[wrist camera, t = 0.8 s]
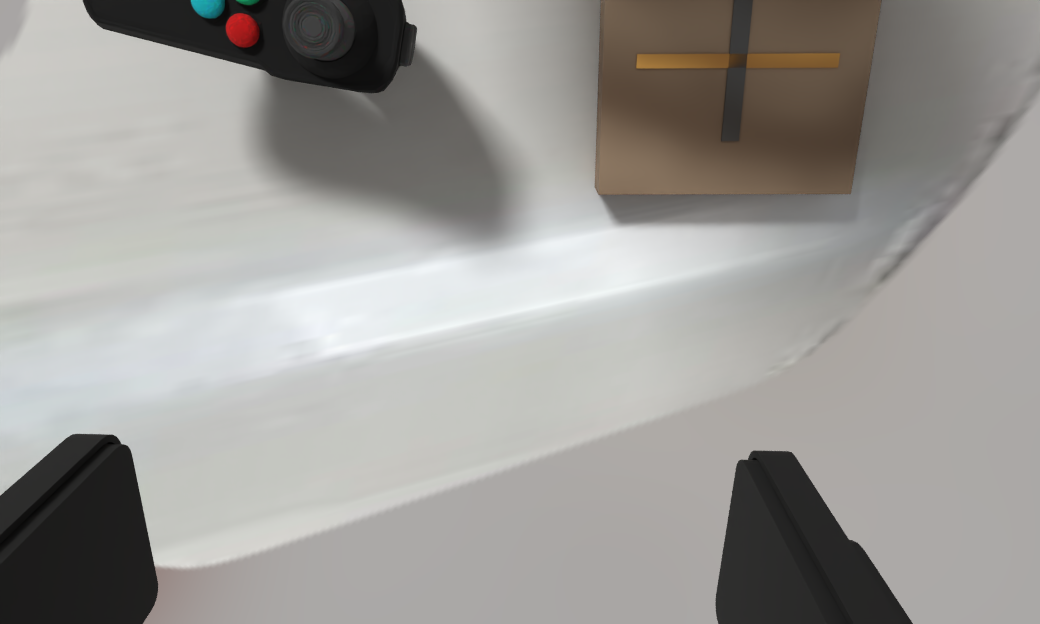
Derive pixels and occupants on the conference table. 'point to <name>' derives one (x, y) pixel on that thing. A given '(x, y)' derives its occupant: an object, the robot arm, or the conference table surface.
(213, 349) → the conference table surface
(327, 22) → the controller
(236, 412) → the conference table surface
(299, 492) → the conference table surface
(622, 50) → the fader console
